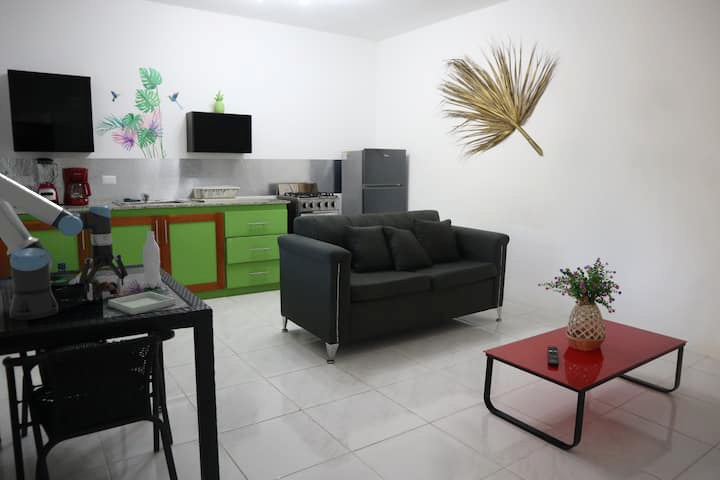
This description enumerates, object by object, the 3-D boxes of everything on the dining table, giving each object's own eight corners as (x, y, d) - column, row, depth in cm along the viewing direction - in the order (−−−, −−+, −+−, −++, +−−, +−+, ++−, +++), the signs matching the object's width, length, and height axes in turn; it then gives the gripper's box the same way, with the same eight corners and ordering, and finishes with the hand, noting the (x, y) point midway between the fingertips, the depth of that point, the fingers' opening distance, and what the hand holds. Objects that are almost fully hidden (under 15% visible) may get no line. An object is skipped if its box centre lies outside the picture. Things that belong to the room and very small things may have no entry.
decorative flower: (25, 298, 219) (101, 279, 237) (22, 287, 219) (99, 269, 236) (22, 293, 229) (95, 276, 247) (19, 283, 229) (93, 266, 246)
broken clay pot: (115, 303, 207) (103, 286, 204) (96, 312, 209) (83, 296, 206) (128, 288, 218) (116, 273, 215) (109, 297, 220) (97, 282, 217)
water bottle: (146, 285, 235) (144, 230, 231) (163, 285, 236) (160, 230, 232) (141, 289, 228) (139, 232, 224) (158, 289, 229) (156, 232, 225)
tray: (132, 314, 190) (132, 308, 190) (108, 306, 201) (108, 300, 201) (175, 304, 204) (175, 298, 204) (150, 297, 215) (150, 291, 214)
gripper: (75, 248, 197) (79, 304, 200) (134, 241, 216) (137, 292, 219) (66, 246, 202) (70, 301, 205) (125, 239, 220) (128, 289, 224)
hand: (105, 296), depth 212 cm, fingers closed on broken clay pot, 11 cm apart
